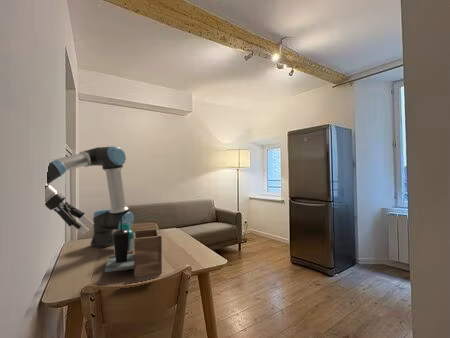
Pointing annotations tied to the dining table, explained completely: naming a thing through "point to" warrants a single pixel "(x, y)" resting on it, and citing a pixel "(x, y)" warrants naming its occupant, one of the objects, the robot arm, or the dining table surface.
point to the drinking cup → (121, 244)
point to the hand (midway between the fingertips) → (89, 228)
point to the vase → (131, 238)
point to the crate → (142, 254)
